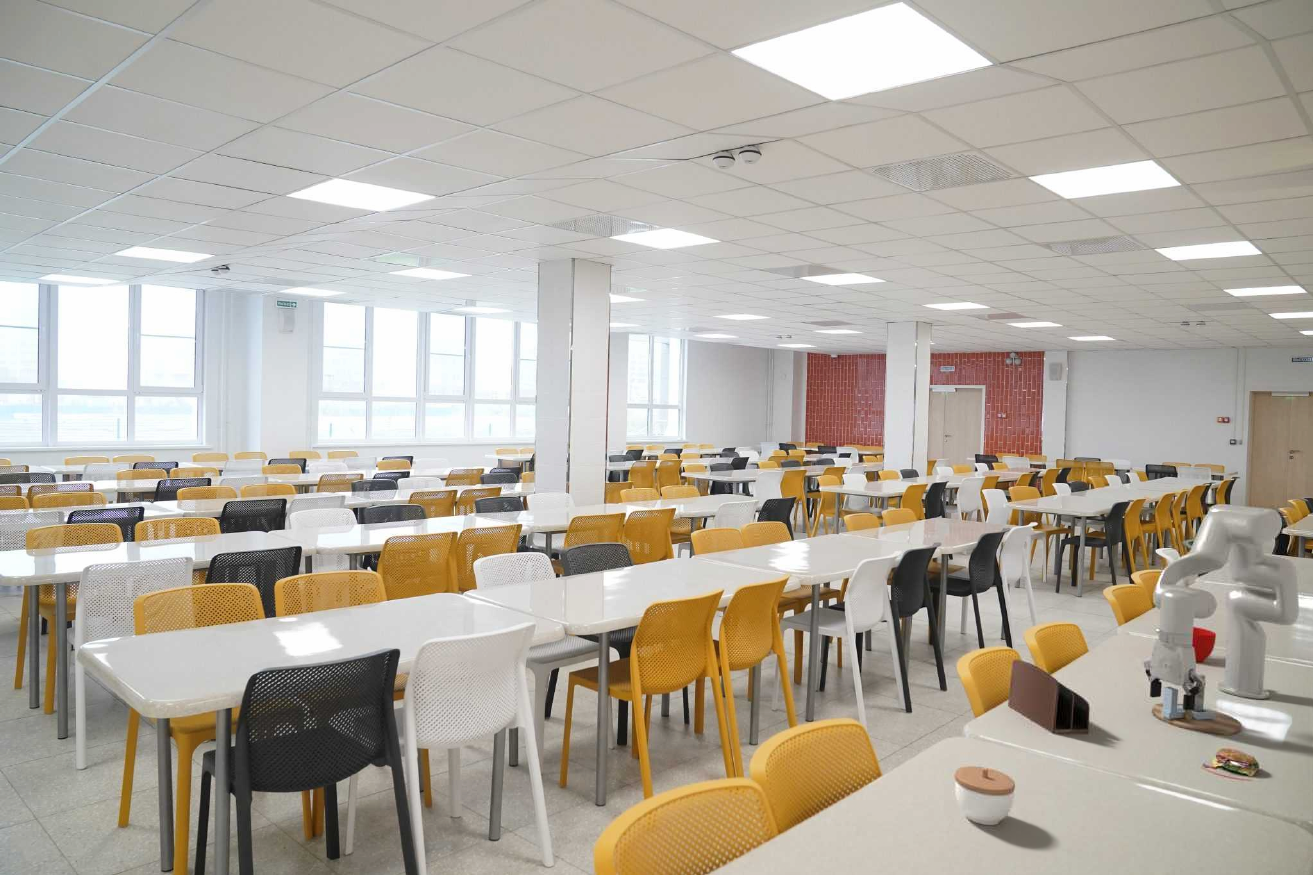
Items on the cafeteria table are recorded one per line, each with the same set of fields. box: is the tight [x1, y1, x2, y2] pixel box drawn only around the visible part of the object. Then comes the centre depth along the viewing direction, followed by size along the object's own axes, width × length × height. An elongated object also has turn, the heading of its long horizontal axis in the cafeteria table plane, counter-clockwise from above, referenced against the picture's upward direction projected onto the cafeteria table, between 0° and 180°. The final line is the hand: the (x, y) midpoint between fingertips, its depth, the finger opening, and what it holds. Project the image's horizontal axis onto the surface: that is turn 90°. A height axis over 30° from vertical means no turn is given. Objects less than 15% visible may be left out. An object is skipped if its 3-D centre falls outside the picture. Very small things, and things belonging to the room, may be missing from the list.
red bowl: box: [1192, 626, 1217, 663], centre depth 287 cm, size 13×17×10 cm
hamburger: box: [1200, 747, 1260, 782], centre depth 192 cm, size 14×14×6 cm
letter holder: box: [1007, 659, 1091, 735], centre depth 218 cm, size 10×20×14 cm, turn 9°
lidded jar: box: [954, 765, 1016, 826], centre depth 161 cm, size 11×11×9 cm
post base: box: [1151, 672, 1243, 736], centre depth 223 cm, size 20×20×12 cm
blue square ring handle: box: [1161, 686, 1215, 720], centre depth 222 cm, size 14×6×8 cm, turn 106°
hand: (1171, 703), depth 220 cm, fingers open, 9 cm apart
